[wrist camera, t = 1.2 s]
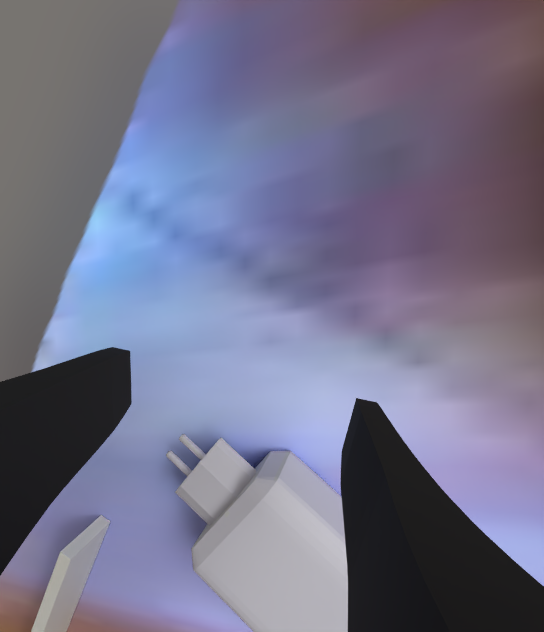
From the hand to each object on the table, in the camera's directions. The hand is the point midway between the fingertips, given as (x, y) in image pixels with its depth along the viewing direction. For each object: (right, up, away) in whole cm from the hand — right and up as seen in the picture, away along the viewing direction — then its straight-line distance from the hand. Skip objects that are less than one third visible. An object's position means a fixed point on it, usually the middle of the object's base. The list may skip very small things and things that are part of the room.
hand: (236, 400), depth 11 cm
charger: (+1, -11, +14) cm, 18 cm away
